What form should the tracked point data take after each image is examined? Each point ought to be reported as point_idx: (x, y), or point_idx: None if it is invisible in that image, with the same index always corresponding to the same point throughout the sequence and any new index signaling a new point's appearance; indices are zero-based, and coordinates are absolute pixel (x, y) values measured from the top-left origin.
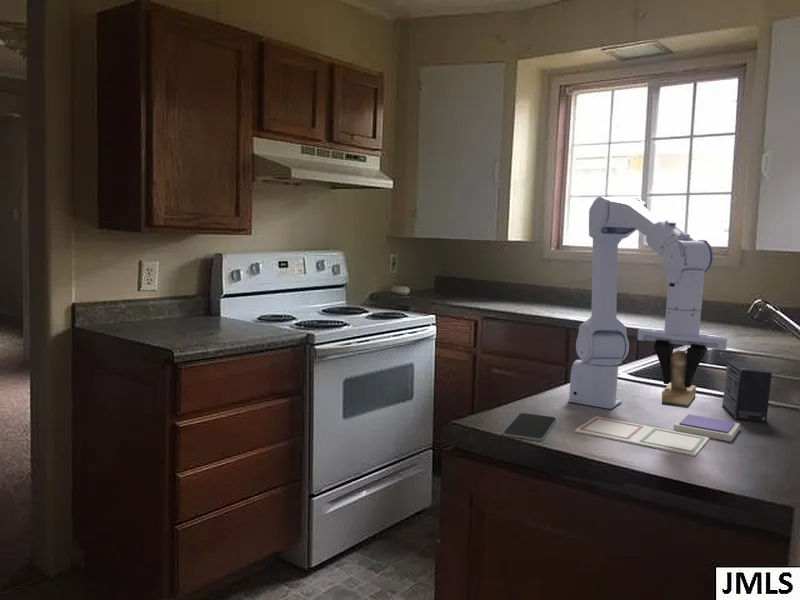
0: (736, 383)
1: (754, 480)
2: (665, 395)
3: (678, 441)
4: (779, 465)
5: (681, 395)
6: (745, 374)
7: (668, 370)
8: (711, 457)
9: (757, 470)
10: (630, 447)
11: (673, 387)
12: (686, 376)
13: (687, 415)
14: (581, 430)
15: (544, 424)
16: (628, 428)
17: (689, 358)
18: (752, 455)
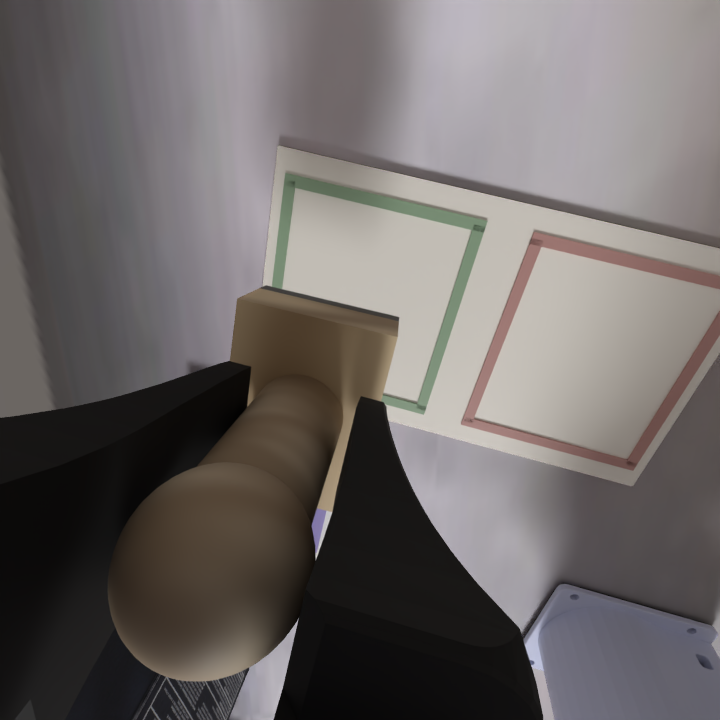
0: (160, 703)
1: None
2: (377, 325)
3: (341, 295)
4: (40, 192)
5: (281, 308)
6: None
7: (343, 473)
8: (228, 168)
9: (79, 84)
10: (529, 137)
11: (326, 395)
12: (206, 386)
13: (319, 538)
14: None
15: None
16: (518, 382)
17: (52, 448)
18: (122, 265)
